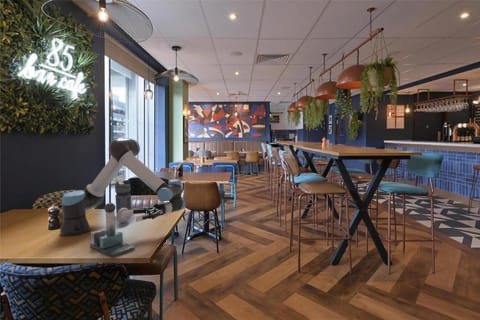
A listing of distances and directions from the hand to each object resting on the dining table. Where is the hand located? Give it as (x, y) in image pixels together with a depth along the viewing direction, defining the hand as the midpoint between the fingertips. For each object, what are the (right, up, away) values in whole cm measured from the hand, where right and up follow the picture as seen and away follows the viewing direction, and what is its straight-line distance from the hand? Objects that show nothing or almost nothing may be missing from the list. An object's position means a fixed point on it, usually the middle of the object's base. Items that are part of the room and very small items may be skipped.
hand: (128, 217), depth 140 cm
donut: (-18, -11, +35) cm, 40 cm away
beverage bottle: (-26, -10, +55) cm, 62 cm away
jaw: (-6, -12, -7) cm, 15 cm away
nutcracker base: (-6, -14, -7) cm, 17 cm away
